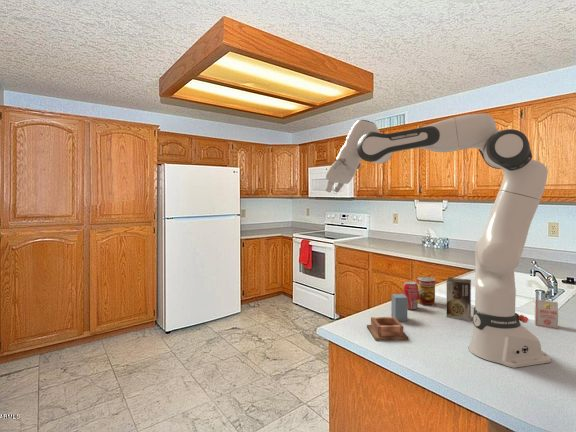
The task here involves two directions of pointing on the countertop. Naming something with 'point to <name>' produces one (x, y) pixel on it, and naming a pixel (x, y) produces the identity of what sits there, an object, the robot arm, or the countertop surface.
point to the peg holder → (386, 329)
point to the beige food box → (546, 314)
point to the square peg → (399, 307)
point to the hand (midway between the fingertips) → (332, 191)
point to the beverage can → (411, 294)
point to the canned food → (426, 291)
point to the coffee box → (458, 298)
